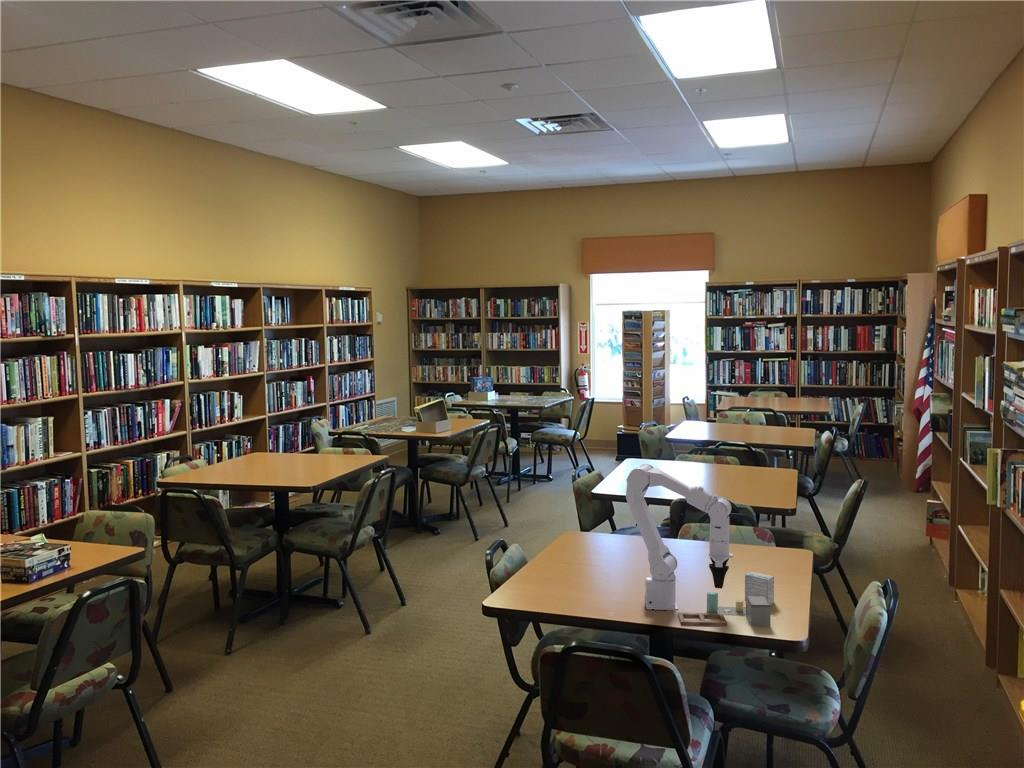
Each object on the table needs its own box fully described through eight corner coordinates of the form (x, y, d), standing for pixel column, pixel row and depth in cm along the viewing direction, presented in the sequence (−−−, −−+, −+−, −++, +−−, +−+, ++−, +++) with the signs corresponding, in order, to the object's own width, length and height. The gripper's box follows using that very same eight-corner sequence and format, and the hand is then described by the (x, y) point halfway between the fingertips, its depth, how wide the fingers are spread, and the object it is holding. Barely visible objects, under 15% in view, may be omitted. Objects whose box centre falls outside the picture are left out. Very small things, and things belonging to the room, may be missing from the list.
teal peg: (707, 614, 240) (708, 595, 239) (705, 610, 243) (706, 591, 243) (718, 614, 240) (718, 595, 239) (716, 610, 243) (716, 591, 242)
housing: (745, 617, 238) (745, 595, 237) (764, 617, 237) (764, 596, 237) (751, 627, 230) (751, 605, 229) (770, 627, 229) (770, 605, 229)
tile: (720, 615, 239) (720, 604, 239) (716, 607, 246) (716, 597, 246) (751, 616, 238) (751, 605, 238) (746, 608, 245) (746, 597, 245)
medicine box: (774, 603, 249) (774, 576, 248) (768, 607, 246) (768, 579, 245) (750, 597, 254) (750, 571, 254) (744, 601, 251) (744, 574, 250)
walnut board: (681, 625, 231) (681, 621, 231) (678, 616, 239) (678, 612, 239) (726, 626, 230) (726, 622, 230) (722, 617, 238) (722, 613, 238)
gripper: (733, 546, 231) (732, 592, 232) (733, 534, 244) (732, 577, 246) (708, 545, 232) (707, 590, 233) (709, 532, 246) (709, 575, 247)
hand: (718, 583), depth 240 cm, fingers open, 7 cm apart
